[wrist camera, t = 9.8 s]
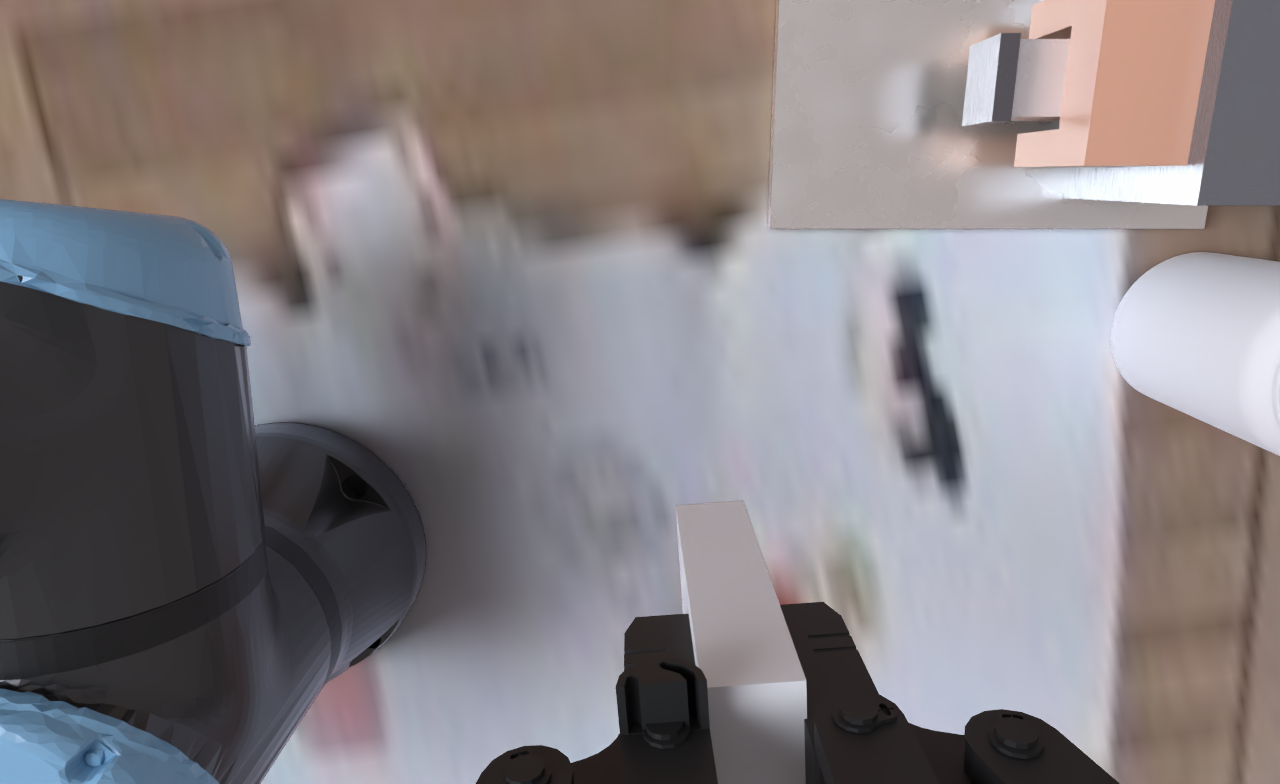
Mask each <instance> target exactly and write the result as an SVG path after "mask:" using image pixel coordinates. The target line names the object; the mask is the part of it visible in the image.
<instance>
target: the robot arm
mask: <svg viewBox="0 0 1280 784" xmlns="http://www.w3.org/2000/svg"><path fill="white" fill-rule="evenodd" d="M250 345H251V343H250V336H249V335H248V333H247V332H246V331H245V330H244V329H243V327H242V321H241V315H240V309H239V303H238V297H237V290H236V284H235V278H234V272H233V266H232V261H231V258H230V255H229V253H228V251H227V249H226V247H225V246H224V244H223V243H222V242H221V240H220V239H219V238H218V237H217V236H216V235H215V234H214V233H213V232H211V231H210V230H209V229H207V228H206V227H204V226H202V225H201V224H199V223H197V222H194V221H192V220H189V219H186V218H181V217H175V216H166V215H156V214H146V213H136V212H126V211H116V210H106V209H96V208H86V207H76V206H67V205H57V204H46V203H36V202H25V201H15V200H5V199H0V784H260V783H261V782H262V780H263V779H264V777H265V776H266V774H267V773H268V771H269V769H270V768H271V766H272V765H273V763H274V762H275V760H276V759H277V757H278V756H279V754H280V752H281V751H282V749H283V748H284V746H285V745H286V743H287V742H288V740H289V739H290V737H291V736H292V734H293V732H294V731H295V729H296V728H297V726H298V725H299V723H300V722H301V720H302V719H303V717H304V716H305V714H306V712H307V711H308V709H309V708H310V706H311V705H312V703H313V702H314V700H315V699H316V697H317V696H318V694H319V693H320V691H321V689H322V688H323V686H324V685H325V683H327V682H329V681H330V680H332V679H333V678H335V677H337V676H338V675H340V674H341V673H343V672H344V671H346V670H347V669H348V668H349V667H351V666H353V665H355V664H357V663H359V662H360V661H362V660H363V659H365V658H367V657H368V656H369V655H371V654H372V653H374V652H375V651H376V650H378V649H379V648H380V647H381V646H382V645H383V644H384V643H385V642H386V641H387V640H388V639H389V638H390V637H391V636H392V635H393V634H394V632H395V631H396V630H397V628H398V627H399V626H400V624H401V623H402V621H403V619H404V618H405V616H406V614H407V612H408V611H409V609H410V607H411V606H412V604H413V602H414V600H415V598H416V596H417V594H418V592H419V589H420V586H421V583H422V580H423V575H424V571H425V563H426V545H425V536H424V531H423V527H422V523H421V520H420V517H419V514H418V511H417V509H416V507H415V505H414V502H413V500H412V499H411V497H410V495H409V493H408V492H407V490H406V489H405V487H404V485H403V484H402V483H401V481H400V480H399V479H398V477H397V476H396V475H395V474H394V473H393V472H392V470H391V469H390V468H389V467H388V466H387V465H386V464H385V463H383V462H382V461H381V460H380V459H379V458H378V457H377V456H375V455H374V454H373V453H371V452H370V451H369V450H367V449H366V448H364V447H363V446H361V445H360V444H358V443H356V442H354V441H353V440H351V439H349V438H347V437H345V436H342V435H340V434H337V433H335V432H332V431H329V430H326V429H323V428H319V427H315V426H310V425H305V424H297V423H271V424H263V425H258V426H254V417H253V407H252V398H251V388H250V378H249V368H248V359H247V349H246V346H250ZM676 517H677V532H678V547H679V562H680V578H681V593H682V608H683V614H676V615H662V616H648V617H636V618H635V619H634V621H633V622H632V624H631V625H630V626H629V628H628V629H627V631H626V632H625V647H624V651H625V654H624V668H625V669H624V672H623V673H622V674H621V675H620V676H619V679H618V682H617V685H616V694H617V705H618V716H619V726H620V734H619V735H618V737H617V739H616V740H615V741H614V742H613V743H612V744H611V745H610V746H609V747H607V748H605V749H604V750H602V751H601V752H599V753H598V754H595V755H593V756H590V757H588V758H586V759H583V760H580V761H576V762H573V763H570V761H569V759H568V757H567V756H565V755H564V754H563V753H561V752H560V751H559V750H557V749H554V748H550V747H546V746H542V745H538V746H523V747H520V748H517V749H513V750H510V751H507V752H505V753H504V754H502V755H501V756H499V757H497V758H496V759H494V760H493V761H492V762H491V763H490V764H489V765H488V766H487V767H486V769H485V770H484V771H483V772H482V773H481V775H480V777H479V779H478V781H477V782H476V784H1119V783H1118V782H1117V781H1116V780H1115V779H1114V778H1112V777H1111V776H1110V775H1109V774H1108V773H1107V772H1105V771H1104V770H1103V769H1102V768H1101V767H1100V766H1098V765H1097V764H1096V763H1095V762H1094V761H1093V760H1091V759H1090V758H1089V757H1088V756H1087V755H1086V754H1084V753H1083V752H1082V751H1081V750H1080V749H1079V748H1077V747H1076V746H1075V745H1074V744H1073V743H1072V742H1070V741H1069V740H1068V739H1067V738H1066V737H1065V736H1064V735H1062V734H1061V733H1060V732H1059V731H1058V730H1057V729H1055V728H1053V727H1052V726H1050V725H1049V724H1047V723H1046V722H1044V721H1043V720H1041V719H1039V718H1036V717H1033V716H1031V715H1028V714H1025V713H1022V712H1017V711H1010V710H1003V709H1001V710H991V711H984V712H982V713H980V714H977V715H975V716H973V717H971V719H970V720H969V722H968V723H967V725H966V726H965V735H958V734H952V733H945V732H938V731H933V730H929V729H924V728H921V727H918V726H915V725H913V724H910V723H908V722H907V720H906V718H905V716H904V714H903V713H902V712H901V710H900V709H899V708H898V707H897V706H896V704H895V703H893V702H891V701H890V700H888V699H886V698H884V697H883V696H881V695H879V693H878V691H877V689H876V687H875V685H874V683H873V681H872V679H871V677H870V675H869V673H868V671H867V669H866V667H865V664H864V662H863V660H862V658H861V656H860V654H859V652H858V650H856V646H855V644H854V642H853V640H852V637H851V636H850V635H849V631H848V629H847V627H846V625H845V623H844V621H843V619H842V617H841V615H839V614H838V613H837V612H835V611H834V610H833V609H832V608H830V607H829V606H828V605H826V604H825V603H824V602H815V603H801V604H787V605H780V604H779V601H778V598H777V596H776V593H775V590H774V587H773V584H772V581H771V578H770V576H769V573H768V570H767V567H766V564H765V561H764V558H763V556H762V553H761V550H760V547H759V544H758V541H757V539H756V536H755V533H754V530H753V527H752V524H751V521H750V519H749V516H748V513H747V510H746V507H745V504H744V502H743V500H742V501H729V502H715V503H701V504H688V505H676Z"/></svg>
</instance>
